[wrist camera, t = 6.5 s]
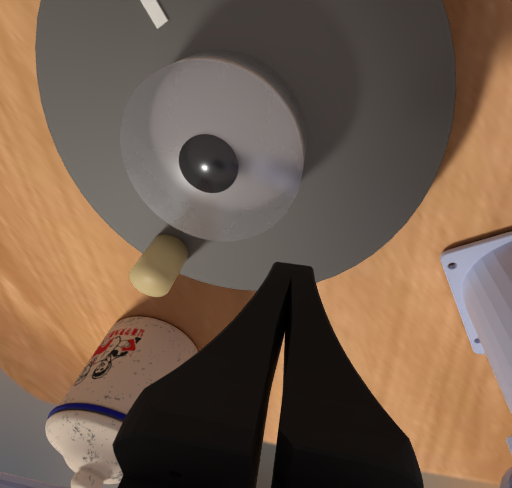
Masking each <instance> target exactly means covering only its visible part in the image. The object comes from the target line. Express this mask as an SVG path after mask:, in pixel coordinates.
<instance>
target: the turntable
mask: <svg viewBox="0 0 512 488" xmlns="http://www.w3.org/2000/svg"><path fill="white" fill-rule="evenodd" d="M35 49H36V69H37V79H38V85H39V91H40V98H41V103H42V107H43V110H44V114H45V117H46V121H47V125H48V128H49V131H50V133H51V136H52V138H53V141H54V143H55V146H56V149H57V151H58V153H59V155H60V157H61V159H62V161H63V163H64V165H65V167H66V169H67V171H68V173H69V174H70V176H71V178H72V179H73V181H74V182H75V184H76V185H77V187H78V188H79V190H80V192H81V193H82V194H83V196H84V197H85V198H86V200H87V201H88V202H89V203H90V205H91V206H92V207H93V209H94V210H95V211H96V212H97V213H98V214H99V215H100V217H101V218H102V219H103V220H104V221H105V222H106V223H107V224H108V225H109V226H110V227H111V228H112V229H113V230H114V231H115V232H116V233H118V234H119V235H120V236H121V237H122V238H123V239H124V240H125V241H127V242H128V243H129V244H131V245H132V246H133V247H135V248H136V249H137V250H139V251H140V252H141V253H143V254H142V256H141V257H140V258H139V260H138V261H137V262H136V264H135V265H134V266H133V268H132V269H131V271H130V280H131V282H132V284H133V285H134V287H135V288H136V289H137V290H139V291H140V292H142V293H143V294H145V295H148V296H152V297H161V296H164V295H166V294H167V293H168V292H169V290H170V289H171V287H172V285H173V283H174V281H175V280H176V278H177V276H178V274H181V275H184V276H187V277H189V278H192V279H195V280H197V281H201V282H204V283H208V284H212V285H215V286H220V287H226V288H231V289H238V290H252V291H257V290H258V289H259V287H260V286H261V285H262V283H263V281H264V280H265V278H266V277H267V275H268V273H269V271H270V270H271V268H272V265H273V263H275V262H283V263H291V264H298V265H306V266H311V267H312V268H313V269H314V277H315V282H316V283H317V282H319V281H322V280H325V279H328V278H331V277H333V276H336V275H338V274H340V273H342V272H344V271H346V270H348V269H350V268H352V267H354V266H356V265H357V264H359V263H360V262H362V261H363V260H365V259H366V258H368V257H370V256H371V255H373V254H374V253H375V252H376V251H377V250H379V249H380V248H381V247H382V246H383V245H385V244H386V243H387V242H388V241H389V240H391V239H392V238H393V236H394V235H395V234H396V233H397V232H398V231H399V230H400V229H401V228H402V227H403V226H404V225H405V224H406V223H407V221H408V220H409V219H410V217H411V216H412V215H413V213H414V212H415V211H416V209H417V208H418V206H419V205H420V204H421V202H422V201H423V199H424V197H425V195H426V194H427V192H428V190H429V188H430V186H431V184H432V183H433V181H434V179H435V177H436V174H437V172H438V169H439V167H440V164H441V162H442V159H443V157H444V154H445V151H446V147H447V143H448V139H449V135H450V131H451V127H452V123H453V115H454V105H455V96H456V71H455V53H454V48H453V42H452V36H451V30H450V25H449V20H448V17H447V14H446V11H445V8H444V5H443V2H442V0H41V2H40V7H39V12H38V17H37V31H36V45H35ZM211 50H228V51H235V52H239V53H243V54H246V55H249V56H251V57H253V58H256V59H258V60H260V61H261V62H263V63H264V64H266V65H268V66H269V67H270V68H272V69H273V70H274V71H275V72H276V73H278V74H279V75H280V76H281V78H282V79H283V80H284V81H285V82H286V83H287V84H288V86H289V87H290V89H291V90H292V91H293V93H294V95H295V96H296V98H297V100H298V102H299V104H300V107H301V109H302V112H303V115H304V119H305V124H306V131H307V149H306V155H305V160H304V166H303V172H302V178H301V184H300V187H299V190H298V193H297V196H296V198H295V200H294V202H293V204H292V205H291V207H290V208H289V210H288V211H287V213H286V214H285V215H284V216H283V217H282V218H281V219H280V220H279V221H278V222H277V223H276V224H275V225H273V226H272V227H271V228H269V229H267V230H266V231H264V232H263V233H260V234H258V235H256V236H253V237H250V238H247V239H243V240H237V241H212V240H206V239H202V238H198V237H195V236H192V235H189V234H187V233H184V232H182V231H180V230H178V229H176V228H174V227H173V226H171V225H170V224H168V223H167V222H165V221H164V220H163V219H161V218H160V217H159V216H158V215H156V214H155V213H154V212H153V211H152V210H151V209H150V208H149V207H148V206H147V204H146V203H145V202H144V201H143V200H142V198H141V197H140V196H139V194H138V193H137V191H136V190H135V188H134V186H133V184H132V183H131V181H130V179H129V176H128V174H127V171H126V169H125V166H124V162H123V159H122V154H121V147H120V129H121V121H122V118H123V114H124V110H125V108H126V106H127V103H128V101H129V99H130V97H131V96H132V94H133V93H134V91H135V90H136V88H137V87H138V86H139V85H140V84H141V83H142V82H143V81H144V80H145V79H146V78H147V77H149V76H150V75H151V74H152V73H154V72H156V71H158V70H159V69H161V68H163V67H165V66H168V65H170V64H172V63H175V62H177V61H180V60H182V59H184V58H187V57H189V56H192V55H195V54H197V53H200V52H205V51H211Z"/></svg>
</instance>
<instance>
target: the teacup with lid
mask: <svg viewBox="0 0 512 488" xmlns="http://www.w3.org/2000/svg"><path fill="white" fill-rule="evenodd" d="M196 353H198V351H197V348H196V346H195V345H194V343H193V342H192V341H191V339H190V338H189V337H188V336H187V335H185V334H184V333H183V332H182V331H180V330H179V329H177V328H176V327H174V326H172V325H170V324H168V323H166V322H164V321H161V320H158V319H154V318H150V317H140V316H137V317H129V318H125V319H122V320H120V321H118V322H117V323H115V324H114V325H113V326H112V327H111V329H110V330H109V332H108V333H107V335H106V336H105V338H104V339H103V341H102V342H101V344H100V345H99V347H98V348H97V350H96V351H95V353H94V354H93V356H92V357H91V359H90V360H89V362H88V363H87V365H86V366H85V368H84V369H83V371H82V372H81V374H80V375H79V377H78V378H77V380H76V381H75V383H74V384H73V386H72V387H71V389H70V390H69V392H68V393H67V395H66V396H65V398H64V399H63V401H62V402H61V404H60V405H59V406H57V407H56V408H54V409H53V410H52V411H51V412H50V414H49V416H48V420H47V423H46V429H45V430H46V436H47V438H48V440H49V442H50V443H51V445H52V446H53V447H54V448H55V449H56V450H57V451H58V452H59V453H61V454H62V455H63V457H64V459H65V461H66V463H67V465H68V466H69V467H70V468H71V469H72V470H73V471H74V472H75V475H74V477H73V479H72V480H71V488H102V486H103V484H115V483H120V481H121V479H122V477H123V473H122V471H121V468H120V466H119V464H118V461H117V459H116V457H115V454H114V451H113V446H112V444H113V442H114V440H115V438H116V435H117V433H118V431H119V429H120V427H121V425H122V423H123V421H124V419H125V417H126V415H127V413H128V411H129V410H130V408H131V407H132V405H133V404H134V402H135V400H136V399H137V398H138V396H139V395H140V393H141V392H142V391H143V389H144V388H146V387H147V386H149V385H151V384H152V383H154V382H155V381H157V380H159V379H160V378H162V377H163V376H165V375H167V374H168V373H170V372H171V371H173V370H174V369H176V368H177V367H179V366H180V365H181V364H183V363H184V362H185V361H187V360H188V359H189V358H191V357H192V356H194V355H195V354H196Z"/></svg>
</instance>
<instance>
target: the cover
mask: <svg viewBox="0 0 512 488" xmlns="http://www.w3.org/2000/svg"><path fill="white" fill-rule="evenodd" d="M120 147H121V154H122V159H123V162H124V166H125V169H126V171H127V174H128V176H129V179H130V181H131V183H132V184H133V186H134V188H135V190H136V191H137V193H138V194H139V196H140V197H141V198H142V200H143V201H144V202H145V203H146V204H147V206H148V207H149V208H150V209H151V210H152V211H153V212H154V213H155V214H156V215H158V216H159V217H160V218H161V219H163V220H164V221H165V222H167V223H168V224H170V225H171V226H173V227H174V228H176V229H178V230H180V231H182V232H184V233H187V234H189V235H192V236H195V237H198V238H202V239H206V240H212V241H237V240H243V239H247V238H250V237H253V236H256V235H258V234H260V233H263V232H264V231H266V230H267V229H269V228H271V227H272V226H273V225H275V224H276V223H277V222H278V221H279V220H280V219H281V218H282V217H283V216H284V215H285V214H286V213H287V211H288V210H289V208H290V207H291V205H292V204H293V202H294V200H295V198H296V196H297V193H298V190H299V187H300V184H301V178H302V172H303V166H304V160H305V155H306V149H307V131H306V124H305V119H304V115H303V112H302V109H301V107H300V104H299V102H298V100H297V98H296V96H295V95H294V93H293V91H292V90H291V89H290V87H289V86H288V84H287V83H286V82H285V81H284V80H283V79H282V78H281V76H280V75H279V74H278V73H276V72H275V71H274V70H273V69H272V68H270V67H269V66H268V65H266V64H264V63H263V62H261V61H260V60H258V59H256V58H253V57H251V56H249V55H246V54H243V53H239V52H235V51H228V50H211V51H205V52H200V53H197V54H195V55H192V56H189V57H187V58H184V59H182V60H180V61H177V62H175V63H172V64H170V65H168V66H165V67H163V68H161V69H159V70H158V71H156V72H154V73H152V74H151V75H150V76H149V77H147V78H146V79H145V80H144V81H143V82H142V83H141V84H140V85H139V86H138V87H137V88H136V90H135V91H134V93H133V94H132V96H131V97H130V99H129V101H128V103H127V106H126V108H125V110H124V114H123V118H122V121H121V129H120Z"/></svg>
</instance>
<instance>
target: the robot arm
mask: <svg viewBox="0 0 512 488" xmlns="http://www.w3.org/2000/svg"><path fill="white" fill-rule="evenodd" d="M440 260H441V263H442V266H443V269H444V271H445V274H446V277H447V280H448V283H449V285H450V288H451V291H452V294H453V296H454V299H455V302H456V305H457V307H458V310H459V313H460V316H461V318H462V321H463V324H464V327H465V329H466V332H467V335H468V338H469V340H470V343H471V346H472V349H473V351H474V352H475V353H477V354H486V356H487V358H488V361H489V363H490V365H491V368H492V370H493V372H494V375H495V377H496V379H497V382H498V384H499V386H500V389H501V391H502V393H503V396H504V398H505V400H506V403H507V405H508V407H509V410H510V412H511V414H512V231H511V232H507V233H504V234H500V235H497V236H493V237H490V238H487V239H483V240H480V241H476V242H473V243H470V244H466V245H463V246H459V247H456V248H452V249H449V250H446V251H444V252H442V253H441V255H440ZM450 263H455V264H453V265H449V264H450ZM284 333H285V347H284V375H283V395H282V405H281V413H280V421H279V429H278V437H277V445H276V453H275V461H274V468H273V476H272V484H271V488H424V486H423V480H422V475H421V472H420V468H419V465H418V462H417V459H416V456H415V453H414V450H413V447H412V445H411V442H410V440H409V438H408V437H407V436H406V435H405V433H404V432H403V431H402V430H401V429H400V428H399V427H398V425H397V424H396V423H395V422H394V421H393V420H392V418H391V417H390V416H389V415H388V414H387V412H386V411H385V410H384V409H383V407H382V406H381V405H380V403H379V402H378V401H377V400H376V398H375V397H374V396H373V394H372V393H371V392H370V390H369V389H368V387H367V386H366V384H365V383H364V382H363V380H362V379H361V377H360V376H359V374H358V373H357V371H356V370H355V368H354V367H353V365H352V364H351V362H350V360H349V359H348V357H347V355H346V354H345V352H344V350H343V348H342V346H341V345H340V343H339V341H338V339H337V337H336V335H335V333H334V331H333V328H332V326H331V324H330V322H329V320H328V317H327V315H326V312H325V310H324V307H323V304H322V302H321V299H320V296H319V293H318V289H317V286H316V282H315V277H314V269H313V268H312V267H311V266H306V265H298V264H291V263H283V262H275V263H273V265H272V268H271V270H270V271H269V273H268V275H267V277H266V278H265V280H264V281H263V283H262V285H261V286H260V287H259V289H258V290H257V292H256V293H255V294H254V296H253V297H252V298H251V300H250V301H249V302H248V303H247V305H246V306H245V307H244V308H243V309H242V311H241V312H240V313H239V314H238V315H237V316H236V317H235V319H234V320H233V321H232V322H231V323H230V324H229V325H228V326H227V327H226V328H225V329H224V330H223V331H222V332H221V333H220V334H219V335H217V336H216V337H215V338H214V339H213V340H212V341H211V342H210V343H208V344H207V345H206V346H205V347H204V348H203V349H201V350H200V351H199V352H198V353H196V354H195V355H194V356H192V357H191V358H189V359H188V360H187V361H185V362H184V363H183V364H181V365H180V366H179V367H177V368H176V369H174V370H173V371H171V372H170V373H168V374H167V375H165V376H163V377H162V378H160V379H159V380H157V381H155V382H154V383H152V384H151V385H149V386H147V387H146V388H144V389H143V391H142V392H141V393H140V395H139V396H138V398H137V399H136V400H135V402H134V404H133V405H132V407H131V408H130V410H129V411H128V413H127V415H126V417H125V419H124V421H123V423H122V425H121V427H120V429H119V431H118V433H117V435H116V438H115V440H114V442H113V444H112V446H113V451H114V454H115V457H116V459H117V461H118V464H119V466H120V468H121V471H122V473H123V477H122V479H121V481H120V484H119V486H118V488H256V483H257V476H258V470H259V463H260V456H261V449H262V443H263V436H264V429H265V422H266V416H267V409H268V402H269V396H270V391H271V386H272V382H273V378H274V374H275V370H276V366H277V362H278V358H279V354H280V350H281V346H282V341H283V337H284ZM477 338H478V339H477ZM506 442H507V444H508V447H509V449H510V452H511V454H512V436H510V437H508V438H507V439H506ZM0 488H67V487H64V486H59V485H55V484H50V483H46V482H42V481H38V480H33V479H29V478H25V477H20V476H16V475H11V474H8V473H3V472H0ZM500 488H512V467H511V468H509V469H508V470H507V471H506V472H505V474H504V475H503V477H502V479H501V483H500Z"/></svg>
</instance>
